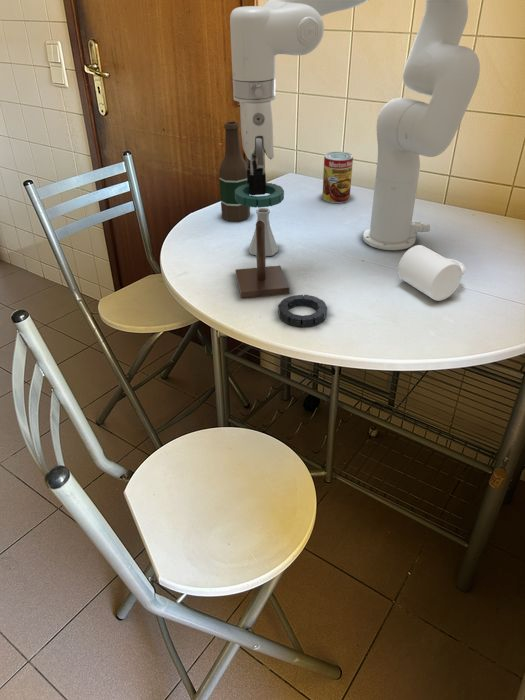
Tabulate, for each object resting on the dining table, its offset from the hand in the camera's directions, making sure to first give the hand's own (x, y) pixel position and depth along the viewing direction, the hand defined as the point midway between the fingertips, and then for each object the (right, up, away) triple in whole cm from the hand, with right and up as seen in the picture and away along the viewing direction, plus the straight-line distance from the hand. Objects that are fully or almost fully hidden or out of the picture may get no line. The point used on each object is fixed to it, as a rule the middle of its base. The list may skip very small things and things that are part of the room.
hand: (256, 191), depth 104 cm
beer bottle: (-6, +5, +38) cm, 39 cm away
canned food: (+22, +12, +48) cm, 55 cm away
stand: (+1, -17, +8) cm, 19 cm away
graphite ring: (+9, -24, -1) cm, 26 cm away
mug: (+37, -18, +6) cm, 42 cm away
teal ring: (+1, -2, -3) cm, 4 cm away
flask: (+1, -8, +21) cm, 23 cm away
